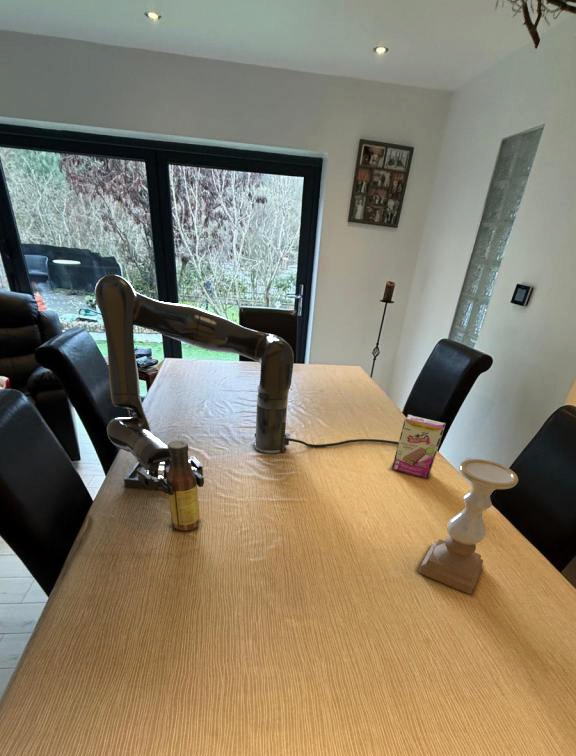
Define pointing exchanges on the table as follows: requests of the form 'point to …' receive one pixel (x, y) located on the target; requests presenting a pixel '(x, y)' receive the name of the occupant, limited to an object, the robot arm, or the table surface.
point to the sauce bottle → (182, 488)
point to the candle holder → (467, 527)
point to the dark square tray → (136, 478)
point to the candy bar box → (418, 446)
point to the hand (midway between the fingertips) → (187, 487)
